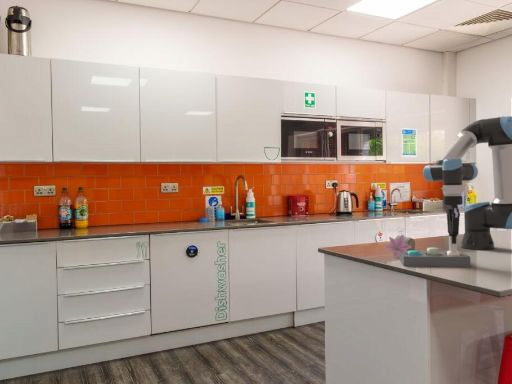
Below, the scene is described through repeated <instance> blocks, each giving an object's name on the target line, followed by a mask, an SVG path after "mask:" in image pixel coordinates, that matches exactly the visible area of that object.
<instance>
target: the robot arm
mask: <svg viewBox="0 0 512 384" xmlns="http://www.w3.org/2000/svg"><path fill="white" fill-rule="evenodd" d="M479 144H487V147H488V148H489V149H490V150H491V152H492V153H491V154H492V155H491V156H492V160H491V161H492V175H493V177H492V178H493V192H494V193H493V195H494V198H493V200H491V202H490V201H483V202H482V201H481V202H474V203H467V204H465V205H464V210H463V211H464V212H463V214H464V218H463V219H464V233H463V236H462V239H461V243H460V244H461V245H460V247H461V248H462V249H469V250H481V251H482V250H493V249H495V242H494V239H493V237H492V234H491V229H500V230H501V229H503V230H512V116H509V115H508V116H504V115H503V116H498V117H491V118H482V119H478V120H476V121H474V122H472V123H470V124H468V125H467V126H465V127H464V128H463V129H462V130H461V131H459V133H458V134H457V136H456V139H455V140H454V142H452V144H451V145H450V146H449V147H448V148H447V150H445V151H444V152H443V154H442V155H440V157H438V158H437V160H436V161H435V162H434V164H427V165H424V168H423V170H422V176H423V179H424V180H425V181H427V182H442V187H441V190H442V194H443V196H442V204H443V205H445V206H447V209H446V210H445V215H446V220H447V221H446V223H447V225H446V226H447V233H448V236H449V237H448V238H449V239H448V241H449V251H458V236H459V234H460V232H459V231H460V228H459V227H460V217H461V213H460V210H459V207H458V206H461V205H463V203H464V202H463V182H469V181H472V180H475V179H476V178H477V176H478V174H479V169H478V167H477V166H476V165H475V164H473V163H468V162H467V163H466V162H465V163H463V160H462V158H463V157H464V156H465V155H466V154H467V152H469V150H470V149H472V148H474V147H475V146H476V145H479Z"/></svg>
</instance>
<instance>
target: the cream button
mask: <svg viewBox="0 0 512 384" xmlns="http://www.w3.org/2000/svg"><path fill="white" fill-rule="evenodd" d="M446 252H447V255H448V256H460V252H461V251H459V250H457V251H450V250H447V251H446Z"/></svg>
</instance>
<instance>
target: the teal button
mask: <svg viewBox="0 0 512 384" xmlns="http://www.w3.org/2000/svg"><path fill="white" fill-rule="evenodd" d="M420 252H421V251H420V250H416V249H415V250H410V251H408V255H420Z"/></svg>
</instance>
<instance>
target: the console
mask: <svg viewBox="0 0 512 384" xmlns="http://www.w3.org/2000/svg"><path fill="white" fill-rule="evenodd" d="M399 262H400V263H401V264H402V266H403V267H453V268H454V267H459V268H461V267H468V268H469V267H471V256H470V255H468V254H467V253H464V252H463V251H460V256H448V255H447V251H440V255H427V251H420V255H408V252H400V254H399Z"/></svg>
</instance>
